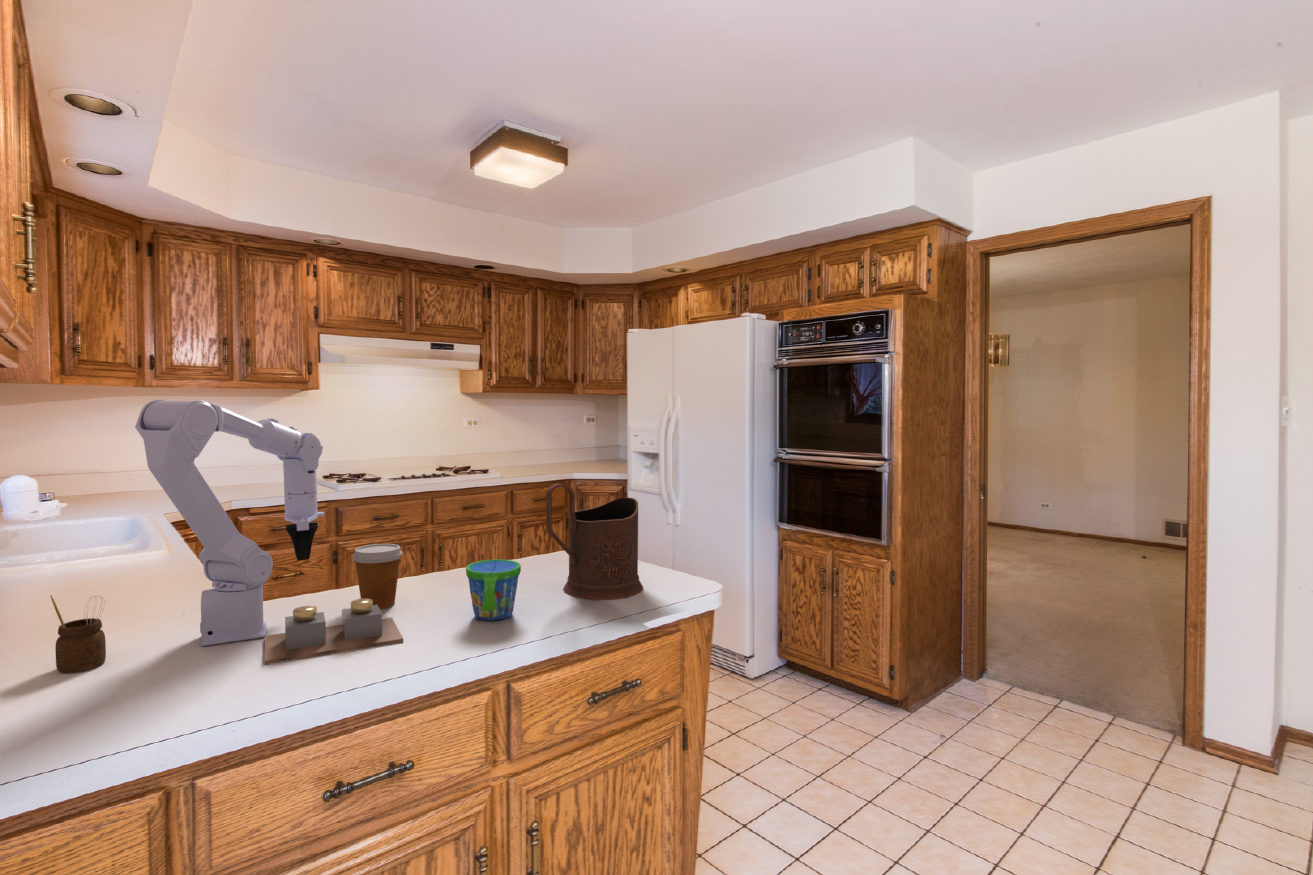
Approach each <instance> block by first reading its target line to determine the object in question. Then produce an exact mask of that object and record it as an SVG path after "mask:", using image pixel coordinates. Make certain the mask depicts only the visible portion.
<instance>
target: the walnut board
mask: <svg viewBox="0 0 1313 875" xmlns="http://www.w3.org/2000/svg"><path fill="white" fill-rule="evenodd" d="M394 620H395V619H393V617H385V618H382V635H380V636H374V637H368V638H361V639H355V640H348V641H345V639H344V635H343V632H342V624H337V625H330V626H326V644H323V645H316V646H310V647H304V648H297V649H291V650H286V642H285V632H282V633H276V634H275V633H274V634H268V635H267V634H266V636H265V642H264V644H265V645H264V646H265V648H264V665H269V663H271V664H276V663H277V664H278V663H282V662H283V663H284V662H288V661H287V660H289V661H293V660H292V659H295V660H301V659H307V658H313V657H314V658H315V657H319V656H320V657H321V656H324V655H325V656H326V655H331V654H338V653H342V652H343V653H344V652H349V651H350V652H351V651H356V650H362V649H367V648H368V649H369V648H374V647H380V646H386V645H392V644H398V643H404V638H403V635H402V633H401V631H400V629H399V628H398V626H397V624H396V622H395V621H394Z"/></svg>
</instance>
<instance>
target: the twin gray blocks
mask: <svg viewBox="0 0 1313 875" xmlns="http://www.w3.org/2000/svg"><path fill="white" fill-rule="evenodd" d="M325 617H326V616H325V614H324V611H321V612H317V617H316V618H315V619H312V620H309V621H294V620H293V615H291V616H285V617H284V624H285V625H284V627H285V628H284V633H285V642H286V650H291V649H297V648H304V647H310V646H316V645H323V644H326V627H327V625H326V624H327V622H326V618H325ZM382 619H383V612H382V611H381V609H379V607H378V605H373V610H372V611H370V612H366V613H360V614H359V613H351V607H350V608H342V609H341V625H342V632H343V635H344V639H345V641H348V640H355V639H361V638H368V637H374V636H380V635H382Z"/></svg>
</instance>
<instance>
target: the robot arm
mask: <svg viewBox="0 0 1313 875" xmlns="http://www.w3.org/2000/svg"><path fill="white" fill-rule="evenodd" d="M279 422H280V420H279V419H276V418H273V417H272V418H268V417H267V419H261V420H258V421H254V420H253V419H250V418H248V417H245V416H242V415H241V414H238V413H235V412H233V411H231V410H228V409H226V408H224V407H222V406H220V405H219V404H216V403H209V402H207V401H205V400H202V399H201V400H198V399H196V400H191V401H190V400H178V401H177V400H164V399H154V400H151V401H149V402H147V403H146V404H145V405H144V406H143V407H142V408H141V410H140V413H139V415H138V418H137V421H136V423H135V425H134V428H135V429H136V431H137V432H138V434H139V435H140V437H141V438H142V439H143V444H144V451H145V457H146V463H147V464H146V465H147V467H148V469H149V471H150V472H151V474H152V475H153V477H154V478H155V480H156V481H157V483H158V484H159V485H160V487H161V488H162V490H163V491H164V492H165V494H166V495H167V497H168V498H169V500H170V502H172V504H173V505H174V506H175V508H176V509H177V511H178V512H179V514H180V515H181V516H182V518H183V519H184V521H185V522H186V523H187V525H188V527H189V528H190V529H191V530H192V532H193V533H194V535H195V536H196V538H197V539H198V541H199V542H200V543H201V544H202V546H203V548H202V549H201V551H200V553H199V555H198V558H199V559H200V562H202V566H203V573H204V576H205V577H206V579H208V581H211V587H212V588H209V589H204V590H202V591H201V596H200V597H201V598H200V625H199V632H200V635H201V636H200V637H201V643H200V645H201V646H202V647H205V646H212V645H219V644H227V643H231V642H232V643H233V642H240V641H247V640H253V639H261V638H266V636H267V622H266V621H264V589H263V588H264V587H263V586H264V585H266V584H267V581H268V579H269V578H270V577H271V574H272V572H273V567H274V562H273V557H272V556H271V554H270V553H269V552H268V551H267V550H263V549H262V548H260V546H259V545H258V544H257V542H255V541H254V540H252V539H250V538H248V537H246V535H243V534H241V533H240V532H239V531H238V529H237V527H236V525H235V524H234V522H233V521H232V520H231V518H230V516H229V515H228V513H227V512H226V510H225V509H224V507H223V506H222V504H221V502H220V501H219V500H218V498H217V497H216V495H215V493H214V492H213V491H212V489H211V487H210V486H209V484H208V483H207V481H206V480H205V478H204V477H203V475H202V474H201V472H200V471H199V469H198V467H197V466H196V464H195V459H196V458H198V457H199V456H200V455H201V454H202V452H203V450H204V448H205V447H206V446H207V444H208V443H209V442H210V439H211V438H212V437H213V435H214V433H215V432H223V433H225V434H229V435H233V436H236V437H240V438H243V439H247V440H248V443H249V445H250V446H251V447H252V448H253V449H256V450H259V451H262V452H265V453H269V454H271V455H275V456H276V458H278V460H280V461H282V463H283V464H282V465H283V466H282V467H283V492H284V498H283V499H284V515H283V519H284V521H285V522H289V523H291V524H286V525H285V531H286V532H287V534H288V535H289V537H290V539H291V542H292V545H293V550H294V553H295V554H294V555H295V558H296V560H297V561H298V562H299V561H305V560H308V561H309V560H310V557H311V552H312V546H313V540H314V537H315V534H316V532H317V530H318V528H319V525H318V521H317V520H316V519H318V518H321V517H325V512H324V511H318V490H317V489H318V488H317V486H318V485H317V484H318V482H317V469H318V468H319V466H320V465H319V462H320V460H319V459H320V457H321V456H322V453H323V448H324V446H323V445H321V444H322V443H321V440H320V439H319V438H318V437H317V436H316V435H315V434H314V433H312V432H311V433H310V432H300V431H298V428H297V427H294V426H286V425H283V424H280V423H279ZM315 520H316V521H315Z"/></svg>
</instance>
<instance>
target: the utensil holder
mask: <svg viewBox="0 0 1313 875" xmlns="http://www.w3.org/2000/svg"><path fill="white" fill-rule="evenodd" d="M97 598H100V600H101V602H100V603H101V605H100V606H99V608H100V609H99V612H98V614H97V616H96V618H95V615H92V616H91V617H90V618H88V611H89V610H88V609H90V606H89V605H90V603H91V602H92V600H93V599H94V600H95V601H94V603H93V604H95V605H97V603H98V600H97ZM50 599H51V602H52V605H53V607H54V610H55V613H56V615H57V617H58V619H59V623H60V625H59V626H58V629H57V634H58V636H59V637H58V638H57V639H56V640H55V649H54V650H55V666H56V670H57V672H58V673H61V674H77V673H82V672H87V671H91V670H94V669H96V668H99V667H101V666H102V665H103V664H105V662H106V658H107V649H106V648H107V646H106V644H107V642H106V635H105V632H104V631H103V630H102V628H103V623H102V620H101V619H100V618H101V616H102V615H103V612H104V608H105V607H102V605H105V603H106V601H105V598H104V597H103V596H101V595H93V596H91V597H89V598H88V599H87V600H86V602H85V606H84V607H87V609H86V608H84V610H83V612H85V611H86V612H85V613H86V614H85V615H83V616H84V617H83V618H81V619H77V620H71V621H67V622H64V620H63V617H62V615H61V612H60V610H59V608H58V606H57V604H56V602H55V599H54V597H53V595H50ZM103 601H104V603H103ZM86 605H87V606H86ZM95 605H93V607H92V609H96V607H97V606H95ZM94 607H95V608H94ZM95 613H96V610H92V612H91V614H95Z"/></svg>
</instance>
